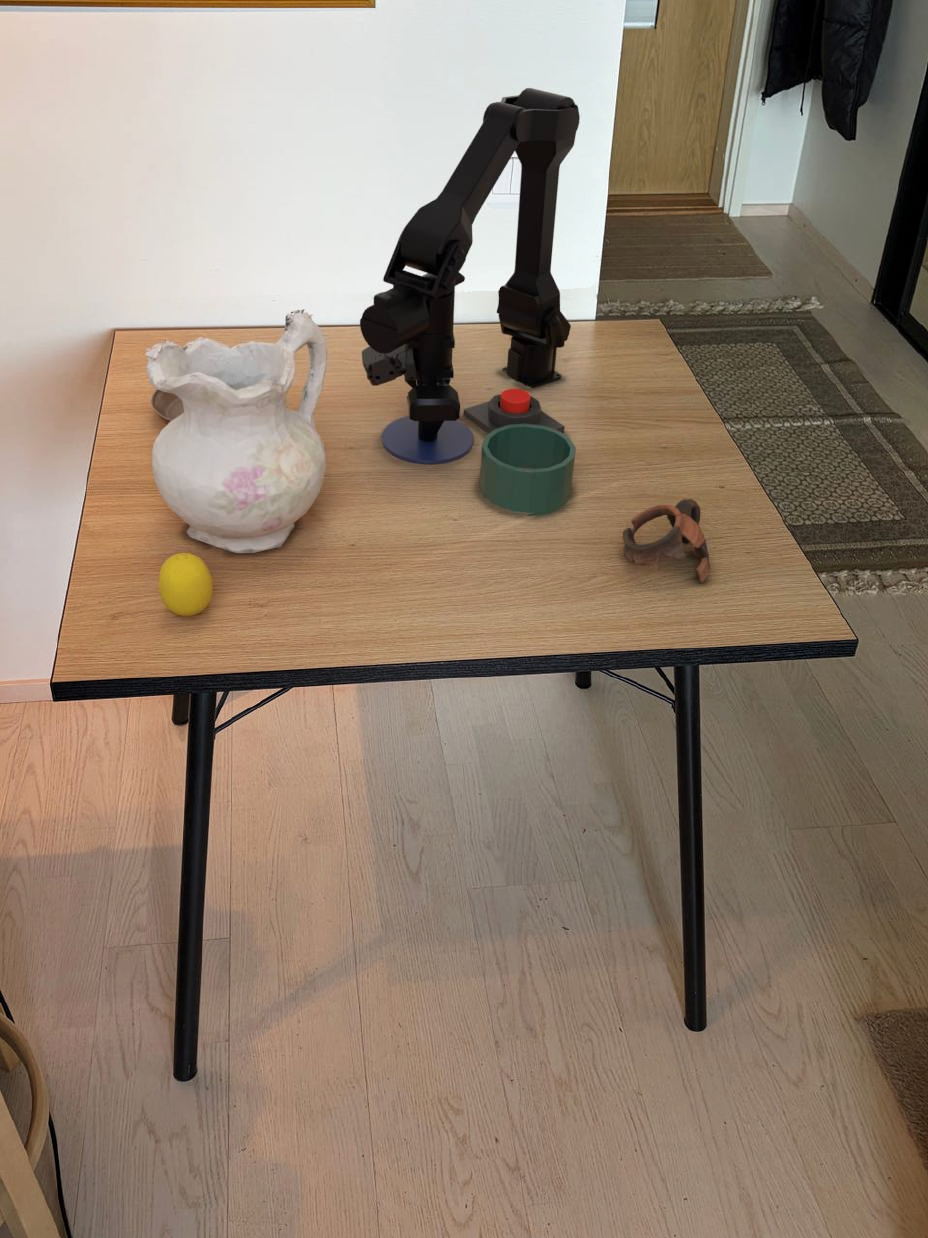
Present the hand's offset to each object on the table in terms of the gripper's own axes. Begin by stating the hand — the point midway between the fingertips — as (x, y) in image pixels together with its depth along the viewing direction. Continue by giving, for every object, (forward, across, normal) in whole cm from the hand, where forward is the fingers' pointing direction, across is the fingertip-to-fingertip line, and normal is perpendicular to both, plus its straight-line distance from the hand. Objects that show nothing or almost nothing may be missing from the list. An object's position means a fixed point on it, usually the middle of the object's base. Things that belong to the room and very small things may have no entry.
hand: (427, 434), depth 154 cm
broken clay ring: (+2, +28, +26) cm, 38 cm away
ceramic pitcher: (+2, +18, -22) cm, 28 cm away
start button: (-2, -4, +12) cm, 13 cm away
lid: (+1, 0, 0) cm, 1 cm away
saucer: (+2, -9, -29) cm, 30 cm away
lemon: (+2, +35, -28) cm, 45 cm away
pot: (+1, +12, +12) cm, 17 cm away
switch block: (+1, -4, +12) cm, 13 cm away
